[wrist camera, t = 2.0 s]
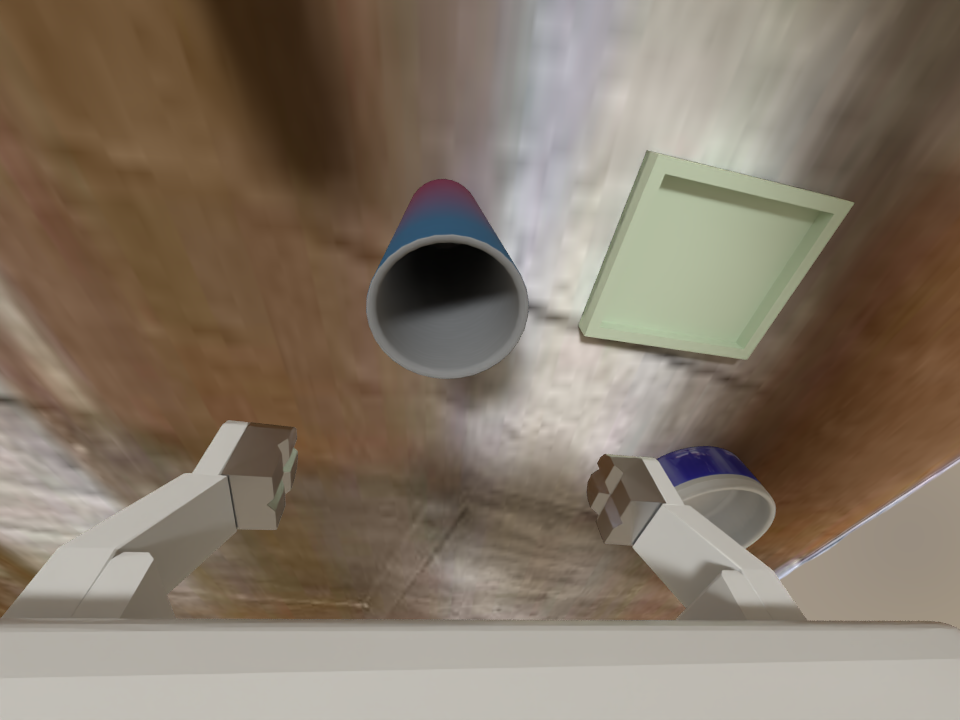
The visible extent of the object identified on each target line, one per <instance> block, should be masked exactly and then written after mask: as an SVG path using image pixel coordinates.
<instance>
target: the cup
mask: <svg viewBox="0 0 960 720" xmlns="http://www.w3.org/2000/svg"><path fill="white" fill-rule="evenodd" d="M528 306H529V301H528V295H527V289H526V286H525V284H524V281H523V279H522V277H521V274H520V273H519V271H518V269H517V268H516V266H515V265H514V263H513V261H512V260H511V258H510V256H509V255H508V253H507V251H506V250H505V248H504V247H503V245H502V243H501V242H500V240H499V238H498V237H497V235H496V233H495V232H494V230H493V229H492V227H491V225H490V224H489V222H488V220H487V219H486V217H485V216H484V214H483V212H482V211H481V209H480V207H479V206H478V204H477V202H476V201H475V199H474V198H473V196H472V195H471V193H470V192H469V191H468V190H467V189H466V188H465V187H464V186H462V185H461V184H459V183H457V182H455V181H452V180H447V179H437V180H433V181H430V182H428V183H426V184H424V185H423V186H422V187H420V188H419V189H418V190H417V191H416V193H415V194H414V195H413V197H412V199H411V201H410V203H409V205H408V207H407V209H406V211H405V214H404V216H403V218H402V220H401V222H400V224H399V226H398V228H397V230H396V232H395V234H394V236H393V238H392V240H391V242H390V244H389V246H388V248H387V250H386V252H385V254H384V256H383V258H382V260H381V263H380V265H379V267H378V269H377V271H376V273H375V275H374V277H373V279H372V281H371V283H370V287H369V291H368V295H367V307H366V313H367V318H368V323H369V327H370V329H371V331H372V334H373V336H374V338H375V340H376V341H377V343H378V344H379V346H380V347H381V349H382V350H383V351H384V352H385V353H386V354H387V355H388V356H389V357H390V358H391V359H392V360H393V361H395V362H396V363H398V364H399V365H401V366H402V367H404V368H405V369H408V370H410V371H412V372H414V373H417V374H420V375H424V376H428V377H432V378H442V379H453V378H463V377H467V376H471V375H475V374H478V373H480V372H482V371H485V370H487V369H489V368H491V367H492V366H494V365H496V364H497V363H499V362H500V361H501V360H502V359H503V358H505V357H506V356H507V355H508V354H509V353H510V352H511V351H512V349H513V348H514V347H515V345H516V344H517V343H518V341H519V339H520V337H521V335H522V333H523V331H524V329H525V325H526V322H527V318H528Z"/></svg>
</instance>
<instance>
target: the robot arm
mask: <svg viewBox="0 0 960 720" xmlns="http://www.w3.org/2000/svg"><path fill="white" fill-rule="evenodd" d="M296 440H297V431H296V428H295V427H289V426H280V425H271V424H262V423H253V422H251V423H249V422H240V421H231V420H228V421H227V422H225V423H224V424H223V425H222V426H221V428H220V429H219V431H218V433H217V434H216V436H215V437H214V439H213V441H212V442H211V444H210V445H209V447H208V449H207V450H206V452H205V453H204V455H203V457H202V458H201V460H200V461H199V463H198V465H197V466H196V468H195V470H194V471H193V473H184V474H182V475H181V476H179V477H177V478H176V479H174V480H172V481H170V482H169V483H167V484H165V485H164V486H162V487H160V488H159V489H157V490H155V491H153V492H152V493H150V494H148V495H147V496H145V497H143V498H142V499H140V500H138V501H137V502H135V503H133V504H131V505H130V506H128V507H126V508H125V509H123V510H121V511H120V512H118V513H116V514H114V515H113V516H111V517H109V518H108V519H106V520H104V521H103V522H101V523H99V524H98V525H96V526H94V527H92V528H91V529H89V530H87V531H86V532H84V533H82V534H81V535H79V536H77V537H75V538H74V539H72V540H70V541H69V542H67V543H65V544H64V545H62V546H60V547H59V548H58V549H57V550H56V551H55V553H54V554H53V555H52V556H51V557H50V559H49V560H48V561H47V562H46V564H45V565H44V566H43V567H42V568H41V570H40V571H39V572H38V573H37V575H36V576H35V577H34V578H33V580H32V581H31V582H30V583H29V584H28V586H27V587H26V588H25V589H24V591H23V592H22V593H21V594H20V595H19V597H18V598H17V599H16V600H15V602H14V603H13V604H12V605H11V607H10V608H9V609H8V610H7V611H6V613H5V614H4V615H3V616H2V618H0V720H960V629H958V628H956V627H954V626H952V625H949V624H946V623H942V622H935V621H807V619H806V618H805V616H804V615H803V613H802V612H801V611H800V609H799V608H798V606H797V605H796V603H795V602H794V600H793V599H792V598H791V596H790V595H789V593H788V592H787V590H786V589H785V587H784V586H783V584H782V583H781V582H780V580H779V579H778V577H777V576H776V574H775V573H774V571H773V570H772V569H770V568H769V567H768V566H766V565H765V564H764V563H763V562H761V561H760V560H759V559H757V558H756V557H755V556H754V555H752V554H751V553H750V552H748V551H747V550H746V549H745V548H743V547H742V546H741V545H740V544H738V543H737V542H736V541H734V540H733V539H732V538H731V537H729V536H728V535H727V534H725V533H724V532H723V531H722V530H720V529H719V528H718V527H716V526H715V525H714V524H713V523H711V522H710V521H709V520H708V519H706V518H705V517H704V516H702V515H701V514H700V513H699V512H697V511H696V510H695V509H693V508H692V507H691V506H689V505H684V503H683V501H682V500H681V498H680V496H679V495H678V493H677V491H676V490H675V488H674V486H673V485H672V483H671V481H670V480H669V478H668V476H667V475H666V473H665V471H664V470H663V468H662V466H661V465H660V463H659V461H658V460H656V459H655V458H651V457H635V456H624V455H611V454H604V455H603V456H601V457H600V459H599V461H598V463H597V464H598V467H599V470H597V471H596V472H594V473H593V474H591V476H590V479H589V481H588V485H587V497H588V501H589V504H590V507H591V508H592V509H593V510H594V511H595V512H596V513H597V514H598V517H597V520H596V523H597V526H598V529H599V531H600V534H601V537H602V539H603V542H604V544H616V545H630V546H633V547H632V548H633V549H634V550H635V551H636V552H637V553H638V554H639V555H640V557H641V558H642V559H643V560H644V561H645V562H646V563H647V565H648V566H649V567H650V568H651V569H652V570H653V571H654V572H655V574H656V575H657V576H658V577H659V578H660V579H661V580H662V581H663V583H664V584H665V585H666V586H667V587H668V588H669V589H670V591H671V592H672V593H673V594H674V595H675V596H676V597H677V598H678V600H679V601H680V602H681V603H682V604H683V605H684V606H685V608H686V609H685V610H684V611H683V612H682V614H681V615H680V616H679V617H678V618H677V619H676V620H419V619H176V618H175V615H174V613H173V610H172V607H171V604H170V602H169V599H168V596H167V594H168V593H170V592H171V591H172V590H173V589H174V588H175V587H176V586H177V585H178V584H179V583H181V582H182V581H183V580H184V579H185V578H186V577H187V576H188V575H189V574H190V573H192V572H193V571H194V570H195V569H196V568H197V567H198V566H199V565H200V564H201V563H203V562H204V561H205V560H206V559H207V558H208V557H209V556H210V555H211V554H212V553H214V552H215V551H216V550H217V549H218V548H219V547H220V546H221V545H222V544H223V543H225V542H226V541H227V540H228V539H229V538H230V537H231V536H232V535H233V534H234V533H236V532H237V530H236V529H258V530H277V527H278V525H279V522H280V519H281V516H282V514H283V511H284V508H285V494H286V493H287V492H289V491H290V490H291V488H292V485H293V482H294V479H295V474H296V470H297V461H298V451H297V450H296V449H295V448H294V445H295V443H296Z"/></svg>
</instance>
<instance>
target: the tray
mask: <svg viewBox="0 0 960 720" xmlns="http://www.w3.org/2000/svg"><path fill="white" fill-rule="evenodd" d="M853 205H854V202H850V201H847V200H844V199H840V198H837V197H833V196H829V195H825V194H821V193H817V192H813V191H809V190H805V189H801V188H797V187H793V186H789V185H785V184H781V183H777V182H773V181H769V180H765V179H761V178H757V177H753V176H749V175H745V174H741V173H736V172H732V171H728V170H724V169H720V168H716V167H712V166H708V165H704V164H700V163H696V162H692V161H688V160H684V159H680V158H676V157H672V156H668V155H664V154H660V153H656V152H652V151H648V150H647V152H646V154H645V157H644V159H643V162H642V164H641V167H640V169H639V172H638V175H637V177H636V180H635V182H634V185H633V187H632V190H631V192H630V195H629V197H628V200H627V203H626V205H625V208H624V210H623V213H622V215H621V218H620V220H619V223H618V225H617V228H616V231H615V233H614V236H613V238H612V241H611V243H610V246H609V248H608V251H607V253H606V256H605V259H604V261H603V264H602V266H601V269H600V271H599V274H598V276H597V279H596V281H595V284H594V286H593V289H592V292H591V294H590V297H589V299H588V302H587V304H586V307H585V309H584V312H583V314H582V317H581V320H580V322H579V325H578V326H579V328H580V329H581V331H582V333H583V335H584V336H587V337H594V338H601V339H608V340H615V341H621V342H628V343H635V344H642V345H649V346H655V347H662V348H669V349H676V350H683V351H690V352H696V353H703V354H710V355H717V356H724V357H730V358H737V359H744V360H747V359H748V358H749V356H750V355H751V353H752V352H753V350H754V349H755V347H756V346H757V345H758V343H759V342H760V340H761V339H762V337H763V336H764V334H765V333H766V331H767V330H768V329H769V327H770V326H771V324H772V323H773V321H774V320H775V318H776V317H777V315H778V314H779V312H780V311H781V310H782V308H783V307H784V305H785V304H786V302H787V301H788V299H789V298H790V296H791V295H792V294H793V292H794V291H795V289H796V288H797V286H798V285H799V283H800V282H801V280H802V279H803V277H804V276H805V275H806V273H807V272H808V270H809V269H810V267H811V266H812V264H813V263H814V261H815V260H816V259H817V257H818V256H819V254H820V253H821V251H822V250H823V248H824V247H825V245H826V244H827V242H828V241H829V240H830V238H831V237H832V235H833V234H834V232H835V231H836V229H837V228H838V226H839V225H840V224H841V222H842V221H843V219H844V218H845V216H846V215H847V213H848V212H849V210H850V209H851V207H852V206H853Z"/></svg>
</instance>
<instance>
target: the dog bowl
mask: <svg viewBox="0 0 960 720" xmlns="http://www.w3.org/2000/svg"><path fill="white" fill-rule="evenodd" d="M656 460H658V461H659V463H660V465H661V466H662V468H663V470H664V471H665V473H666V475H667V476H668V478H669V480H670V481H671V483H672V485H673V486H674V488H675V490H676V491H677V493H678V495H679V496H680V498H681V500H682V501H683V503H684V505H689V506H691V507H692V508H693V509H695V510H696V511H697V512H699V513H700V514H701V515H702V516H704V517H705V518H706V519H708V520H709V521H710V522H711V523H713V524H714V525H715V526H716V527H718V528H719V529H720V530H722V531H723V532H724V533H725V534H727V535H728V536H729V537H731V538H732V539H733V540H734V541H736V542H737V543H738V544H740V545H741V546H742V547H743V548H745V549H746V548H747V547H749V546H750V545H752V544H753V543H754V542H756V541H757V540H758V539H759V538H760V537H761V536H762V535H763V534H764V533H765V532H766V531H767V530H768V528H769V527H770V526H771V524H772V522H773V520H774V517H775V513H776V506H775V503H774V500H773V498H772V497H771V496H770V494H769V493H768V492H767V491H766V490H765V488H764V487H763V486H762V485H761V483H760V482H759V481H758V480H757V479H756V477H755V476H754V475H753V474H752V473H751V472H750V471H749V469H748V468H747V467H746V466H745V465H744V464H743V463H742V461H741V460H740V459H739V458H738V457H737V456H736V455H734V454H733V453H731V452H729V451H727V450H725V449H722V448H718V447H710V446H700V447H691V448H686V449H681V450H678V451H674V452H672V453H669V454H666V455H664V456H662V457H660V458H658V459H656Z"/></svg>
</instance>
